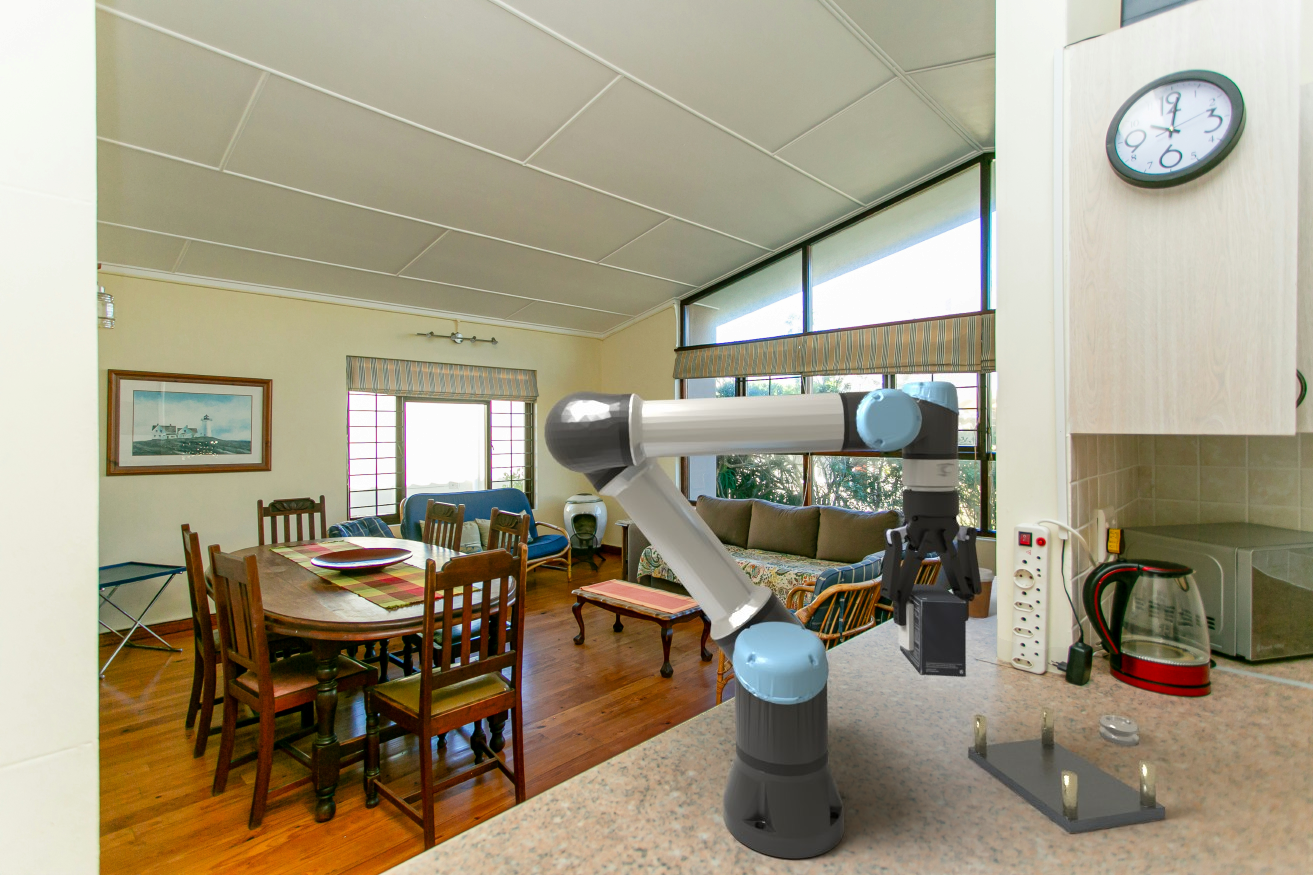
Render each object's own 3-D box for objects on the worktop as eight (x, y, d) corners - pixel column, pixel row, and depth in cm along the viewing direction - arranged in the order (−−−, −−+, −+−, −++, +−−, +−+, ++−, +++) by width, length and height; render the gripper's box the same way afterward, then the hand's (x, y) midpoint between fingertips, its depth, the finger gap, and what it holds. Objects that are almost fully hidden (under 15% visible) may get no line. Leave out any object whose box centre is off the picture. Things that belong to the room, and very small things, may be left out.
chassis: (1070, 833, 74) (1069, 780, 74) (968, 757, 91) (967, 714, 91) (1165, 818, 76) (1164, 767, 76) (1048, 746, 94) (1047, 705, 94)
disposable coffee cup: (1002, 616, 161) (1002, 571, 161) (981, 622, 156) (980, 575, 156) (968, 607, 169) (968, 564, 169) (947, 613, 164) (947, 569, 164)
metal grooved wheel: (1093, 737, 97) (1131, 750, 93) (1093, 718, 97) (1131, 730, 93) (1106, 728, 100) (1144, 740, 95) (1106, 710, 100) (1143, 721, 95)
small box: (970, 678, 82) (969, 601, 82) (920, 676, 83) (919, 600, 83) (942, 651, 93) (941, 582, 93) (898, 649, 93) (897, 582, 94)
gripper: (880, 492, 82) (881, 659, 82) (1011, 488, 86) (1012, 648, 86) (852, 487, 90) (853, 641, 90) (974, 484, 94) (975, 631, 94)
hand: (931, 644), depth 88 cm, fingers closed on small box, 7 cm apart
